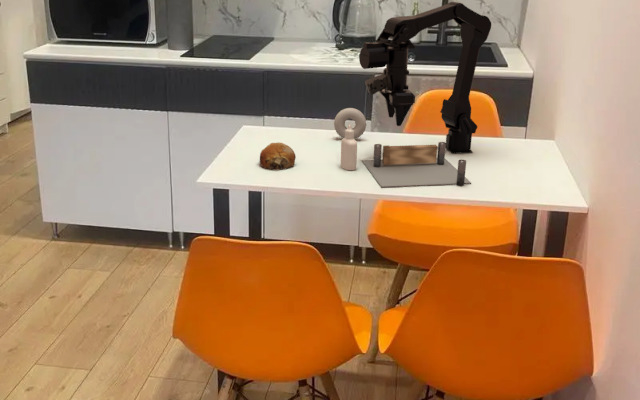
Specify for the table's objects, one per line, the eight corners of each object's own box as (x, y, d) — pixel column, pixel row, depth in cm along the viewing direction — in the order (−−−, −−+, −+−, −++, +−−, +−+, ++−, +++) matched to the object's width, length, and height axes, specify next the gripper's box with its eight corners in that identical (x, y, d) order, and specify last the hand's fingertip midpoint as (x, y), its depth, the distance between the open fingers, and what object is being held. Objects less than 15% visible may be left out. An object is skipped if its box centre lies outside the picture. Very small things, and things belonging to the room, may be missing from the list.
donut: (365, 138, 224) (367, 107, 220) (365, 141, 221) (366, 110, 217) (334, 137, 225) (334, 106, 221) (333, 140, 221) (333, 108, 218)
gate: (434, 161, 200) (435, 143, 199) (436, 163, 199) (437, 145, 197) (382, 163, 198) (383, 145, 196) (383, 165, 196) (384, 147, 194)
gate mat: (443, 158, 206) (443, 157, 206) (471, 184, 186) (471, 182, 186) (362, 161, 202) (362, 160, 202) (381, 187, 182) (381, 186, 182)
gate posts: (442, 164, 201) (444, 141, 199) (465, 185, 185) (467, 161, 182) (372, 166, 198) (373, 144, 196) (389, 189, 181) (390, 164, 179)
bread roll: (298, 176, 200) (304, 148, 201) (283, 170, 191) (289, 141, 191) (267, 171, 204) (273, 143, 205) (250, 165, 195) (256, 136, 195)
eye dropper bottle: (356, 164, 199) (357, 122, 195) (356, 171, 194) (357, 128, 190) (340, 164, 200) (341, 122, 195) (340, 170, 194) (341, 127, 190)
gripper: (361, 60, 203) (360, 114, 208) (375, 73, 185) (373, 131, 191) (399, 59, 204) (397, 112, 210) (416, 72, 187) (414, 130, 193)
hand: (394, 121), depth 201 cm, fingers open, 9 cm apart
